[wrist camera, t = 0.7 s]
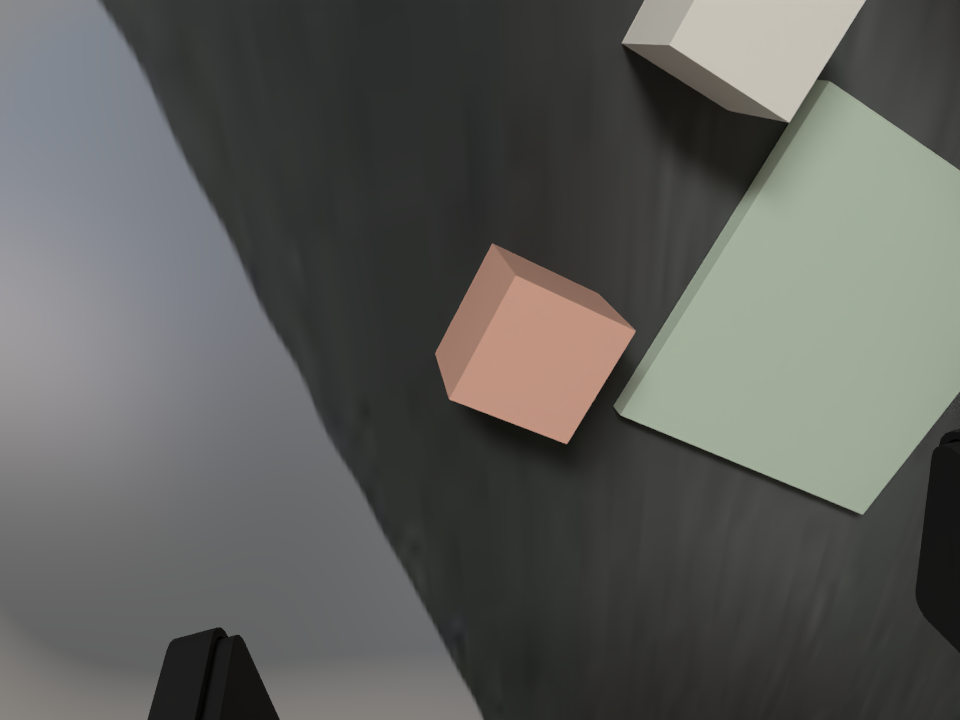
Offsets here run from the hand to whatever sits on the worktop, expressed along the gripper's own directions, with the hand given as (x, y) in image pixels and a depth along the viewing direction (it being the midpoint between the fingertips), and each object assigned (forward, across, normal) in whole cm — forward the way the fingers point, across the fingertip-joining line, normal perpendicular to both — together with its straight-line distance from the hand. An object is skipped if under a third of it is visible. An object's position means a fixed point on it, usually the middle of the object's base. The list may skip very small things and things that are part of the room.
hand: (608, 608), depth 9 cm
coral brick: (+25, -3, +7) cm, 26 cm away
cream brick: (+25, -14, -5) cm, 29 cm away
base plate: (+25, -20, +11) cm, 34 cm away
